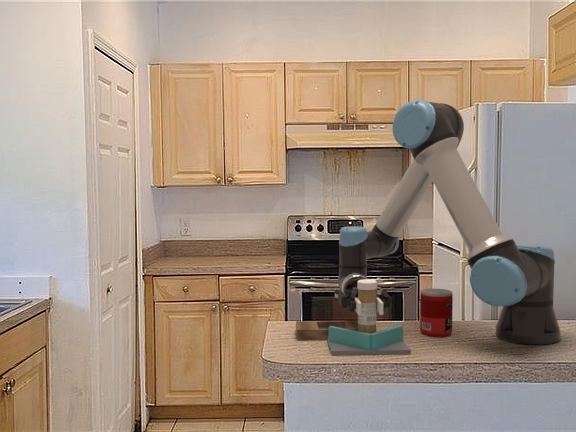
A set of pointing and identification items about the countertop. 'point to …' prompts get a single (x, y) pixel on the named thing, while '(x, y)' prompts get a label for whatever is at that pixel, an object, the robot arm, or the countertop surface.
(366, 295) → the sprinkles bottle
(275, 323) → the countertop surface
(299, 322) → the brown hollow frame
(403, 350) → the v cradle
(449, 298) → the canned food
